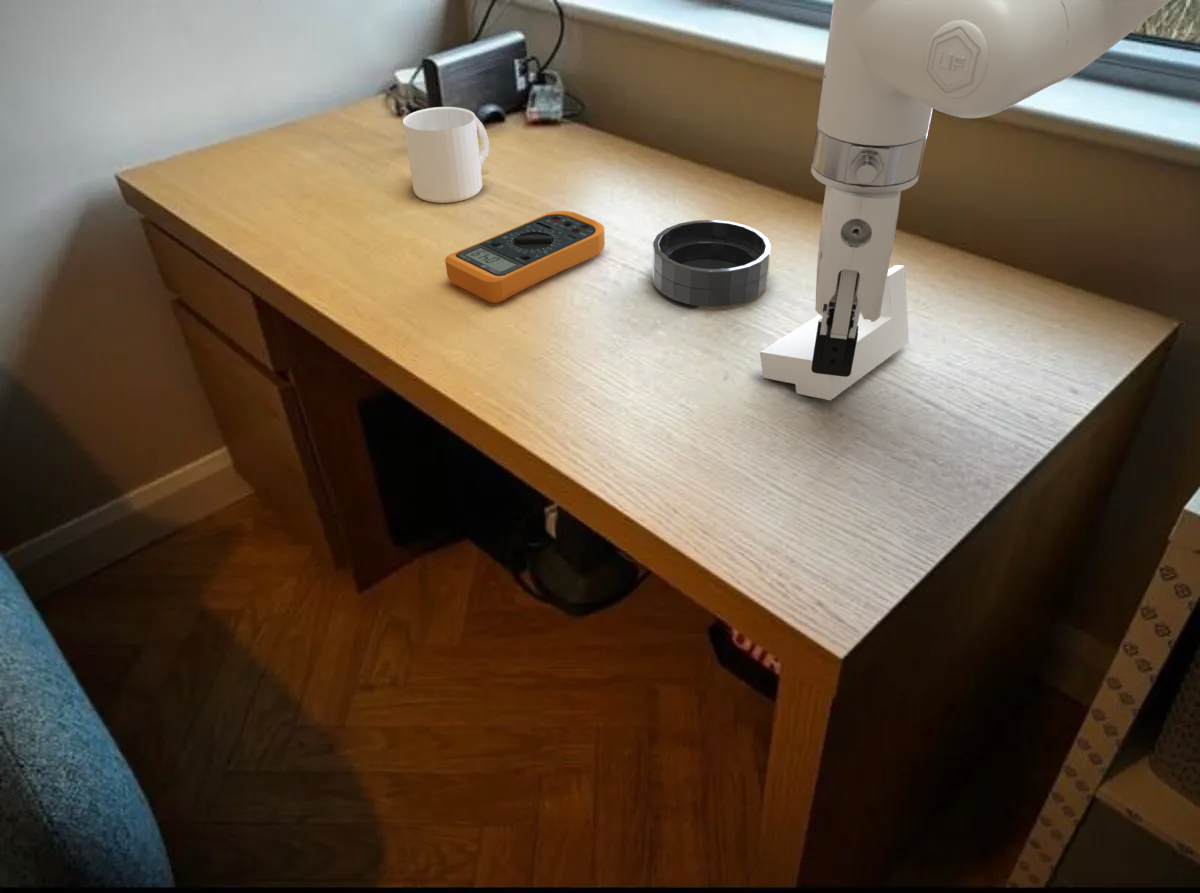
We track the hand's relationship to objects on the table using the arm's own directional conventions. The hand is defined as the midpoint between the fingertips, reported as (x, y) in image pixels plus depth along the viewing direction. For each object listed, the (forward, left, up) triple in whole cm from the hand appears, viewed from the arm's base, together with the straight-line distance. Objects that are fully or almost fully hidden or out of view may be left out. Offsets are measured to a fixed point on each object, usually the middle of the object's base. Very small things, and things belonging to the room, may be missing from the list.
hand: (830, 369), depth 75 cm
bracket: (0, -8, -5) cm, 10 cm away
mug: (+51, -40, -5) cm, 65 cm away
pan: (+14, -21, -5) cm, 26 cm away
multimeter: (+34, -20, -5) cm, 39 cm away
